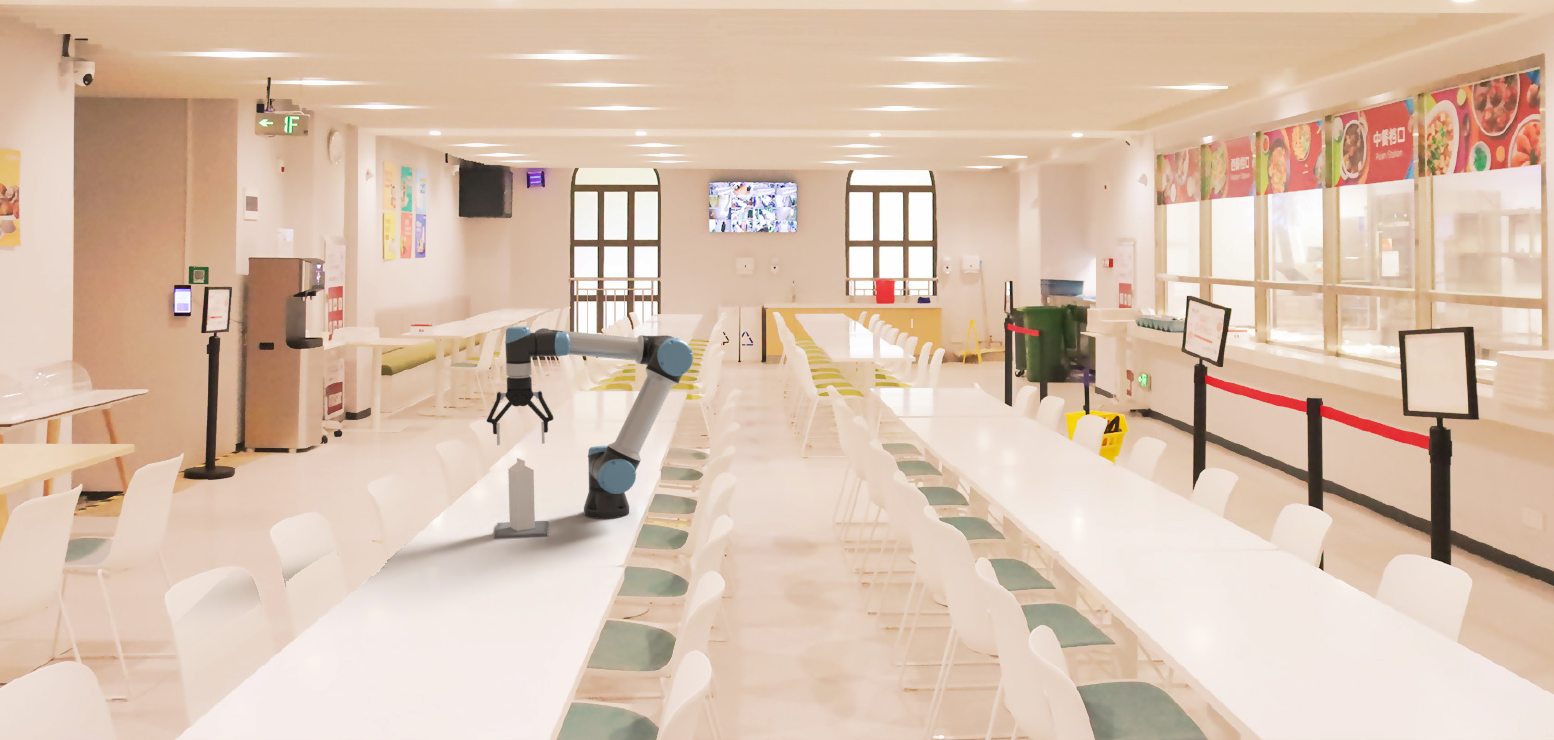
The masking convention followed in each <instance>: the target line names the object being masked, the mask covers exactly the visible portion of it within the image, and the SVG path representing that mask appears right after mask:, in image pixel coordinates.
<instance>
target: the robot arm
mask: <svg viewBox="0 0 1554 740" xmlns="http://www.w3.org/2000/svg"><path fill="white" fill-rule="evenodd" d="M504 343H505V359H506V361H505V362H506V363H505V367H506V368H505V370H506V371H505V372H506V376H507V378H506V392H501V391H498V392H497V394H496V397H495V398H496V399H495V401H494V403H493V406H492V408H491V410H490V412H489V414H488V417H487V419H486V422H487V423H489V424H491V425H492V433H493V435H496V444H497V446H500V445H501V430H500V429H501V427H500V426H501V424H500V422H499V421H500V420H501V418H502V417H503V416H504V415H505V414H506V413H507V411H508V410H509V409H510V408H511V407H512V406H513V407H519V406H520V407H526V406H527V405H528V407H529V408H530V409H532V411H533V412H534V413H535V414H536V415H537V416H538V417H539V418H540V420H541V425H540V426H541V427H540V428H541V444H543V445H544V444H545V438H546V437H545V433H548V432H549V425H548V424H549V422H551V421H553V420H554V416H553V413H552V411H551V410H550V407H549V406H548V405H547V402H546V401H545V399H544V396H543V391H542V390H538V391H534V392H533V384H532V383H533V382H532V381H533V380H532V376H531V375H532V358H537V357H563V356H568V355H572V356H581V357H582V356H584V357H594V358H604V359H616V360H625V361H635V363H636V364H638V365H646V368H645V372H646V375H647V376H646V378H645V380H644V381H643V384H642V386H641V387H640V390H639V392H638V394H637V396H636V398H635V400H634V403H633V405H632V406H631V409H629V413H628V414H627V417H626V418H625V421H624V423H623V424H622V427H621V428H620V431H619V433H618V435H617V437H616V439H615V441H614V442H611V443H610V444H609V443H608V445H597V446H595V445H594V446H591V447H589V449H588V453H587V458H588V494H587V497H586V500H585V503H584V506H583V515H584V516H586V517H587V518H593V519H616V518H621V517H625V516H626V515H629V514H630V504H629V501H628V499H627V496H626V493H625V492H627V491H629V490H630V489H632V487H633V486H634V485H635V482H636V480H637V478H636V477H637V469H638V467H639V465H640V463H641V461H642V459H641V456H640V452H641V450H642V448H643V446H644V444H645V442H646V440H647V438H648V435H649V433H650V431H651V429H652V428H653V426H654V424H655V421H656V420H657V417H658V415H659V413H660V411H661V409H662V407H663V405H664V403H665V401H666V399H667V397H668V395H669V394H670V391H671V389H672V387H675V386H678V385H679V383H680V381H681V378H682V377H683V375H684V374H686V373H687V372H688V371H689V370H690V369H691V367H692V366H693V362H694V353H693V350H692V349H691V347H690V345H689V344H688V343H686V341H684V340H683V339H681V338H678V337H674V336H671V335H638V336H637V337H632V336H631V337H629V336H622V335H621V336H620V335H609V334H598V333H588V332H579V331H578V332H577V331H569V330H568V331H567V330H556V329H549V328H546V327H545V328H539V329H537V330H536V331H534V332H531V328H530V327H529V326H510V327H507V328H506V329H505V342H504ZM534 397H535V398H536V399H538V401H539V403H540V405H541V406H542V408H543V410H544V413H546V415H545V414H544V413H543V412H542V411H541V409H539V408H538V407H537V406H536V405H535V403H534V402H533V400H532V399H533V398H534ZM504 398H506V399H507V400H508V402H507V403H506V404H505V406H504V407H503V408H502V409H501V410H500V412H499V413H498V414H497V415H496V416H495V418H493V417H494V415H495V414H496V413H495V412H496V411H497V408H498V407H499V404H500V403H501V401H502V400H504Z"/></svg>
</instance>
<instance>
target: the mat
mask: <svg viewBox="0 0 1554 740" xmlns="http://www.w3.org/2000/svg"><path fill="white" fill-rule="evenodd" d="M548 531H549V520H535V528H534V529H527V530H521V531H516V530H514V529H512V528H511V527H510V521H508V522H497V524H496V528H495V531H494V534H493V535H494V536H493V539H512V538H513V539H515V538H535V537H536V538H537V537H548V534H549V532H548Z"/></svg>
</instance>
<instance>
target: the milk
mask: <svg viewBox="0 0 1554 740" xmlns="http://www.w3.org/2000/svg"><path fill="white" fill-rule="evenodd" d="M525 462H526V461H525V460H523V459H521V458H518V457H517V458H516V463H514V464H512V466H510V467H509V468H508V472H507V473H508V505H509V506H508V508H509V511H508V513H509V515H508V516H509V522H510V527H511V528H512V529H514V530H516V531H521V530H527V529H534V528H535V521H536V517H535V511H536V510H535V474H534V472H535V471H534V468H531V467H528V466H527V465H526V463H525Z"/></svg>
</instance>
